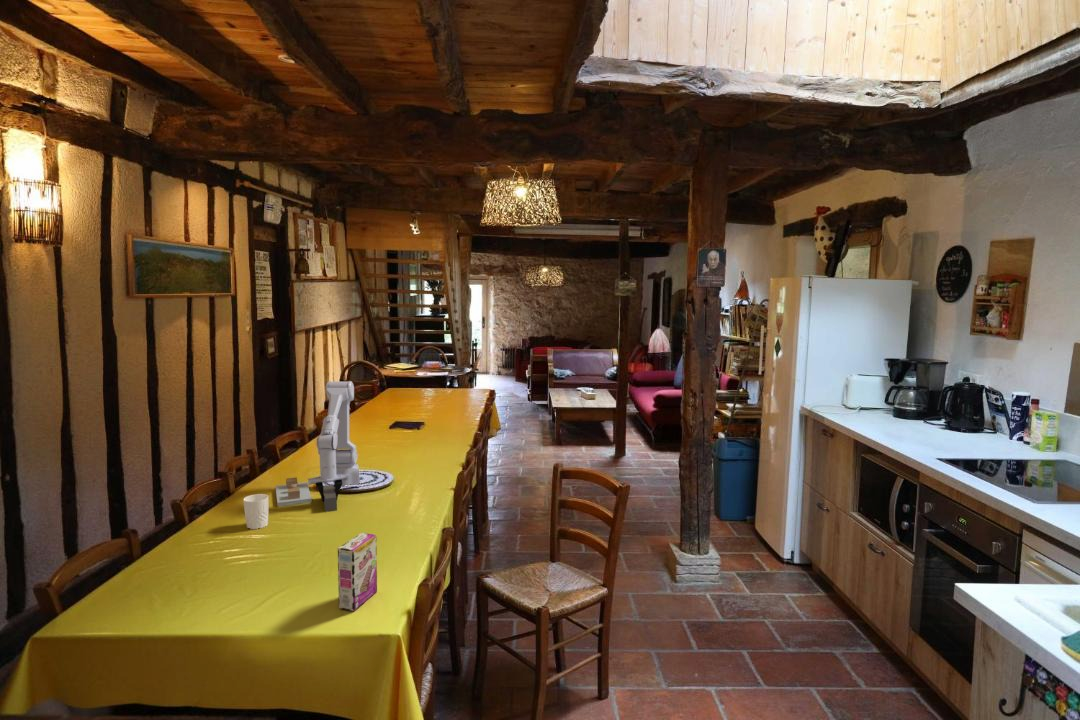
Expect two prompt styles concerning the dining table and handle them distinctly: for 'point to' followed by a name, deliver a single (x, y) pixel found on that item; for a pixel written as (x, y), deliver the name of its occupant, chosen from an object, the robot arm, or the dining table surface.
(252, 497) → the white cup
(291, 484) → the display stand
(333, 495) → the gray rectangular block
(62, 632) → the dining table surface
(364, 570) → the candy bar box
